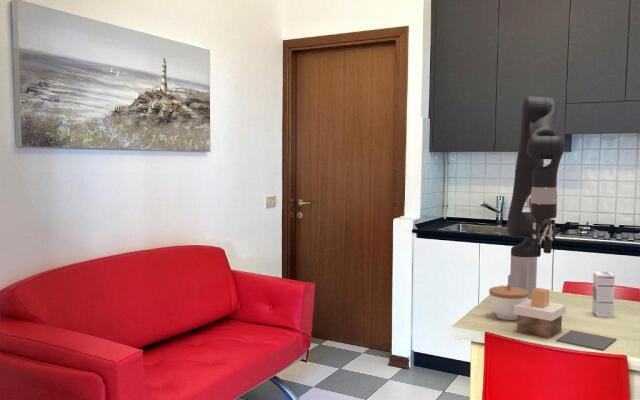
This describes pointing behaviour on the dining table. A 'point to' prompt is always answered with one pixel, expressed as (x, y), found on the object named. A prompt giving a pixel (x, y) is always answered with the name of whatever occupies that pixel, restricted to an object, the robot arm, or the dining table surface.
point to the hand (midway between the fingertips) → (542, 254)
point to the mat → (586, 340)
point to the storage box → (538, 326)
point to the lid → (540, 306)
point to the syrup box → (603, 294)
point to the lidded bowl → (506, 300)
